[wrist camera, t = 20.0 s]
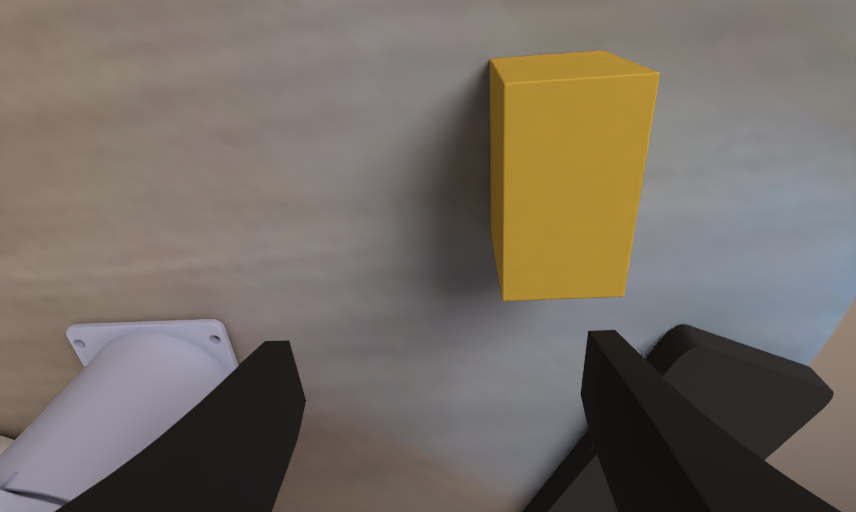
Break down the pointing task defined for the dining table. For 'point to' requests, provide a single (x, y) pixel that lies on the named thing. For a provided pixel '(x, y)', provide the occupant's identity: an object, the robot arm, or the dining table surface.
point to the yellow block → (567, 171)
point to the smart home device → (704, 408)
